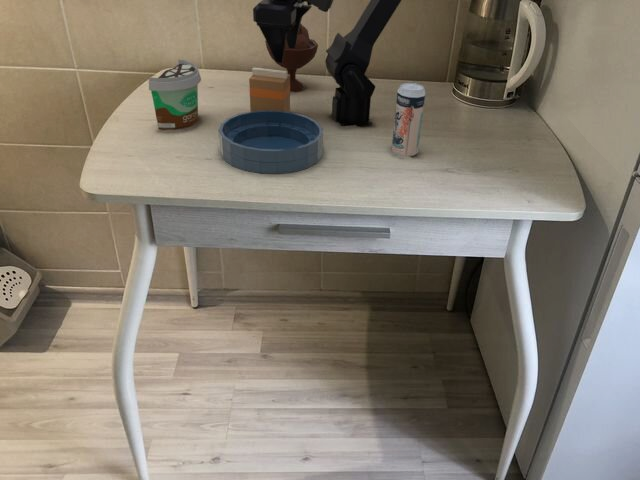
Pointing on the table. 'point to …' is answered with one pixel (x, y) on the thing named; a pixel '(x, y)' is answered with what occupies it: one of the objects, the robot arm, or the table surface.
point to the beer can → (408, 119)
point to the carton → (269, 90)
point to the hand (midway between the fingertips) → (285, 54)
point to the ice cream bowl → (297, 56)
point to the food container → (176, 96)
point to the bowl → (271, 141)
